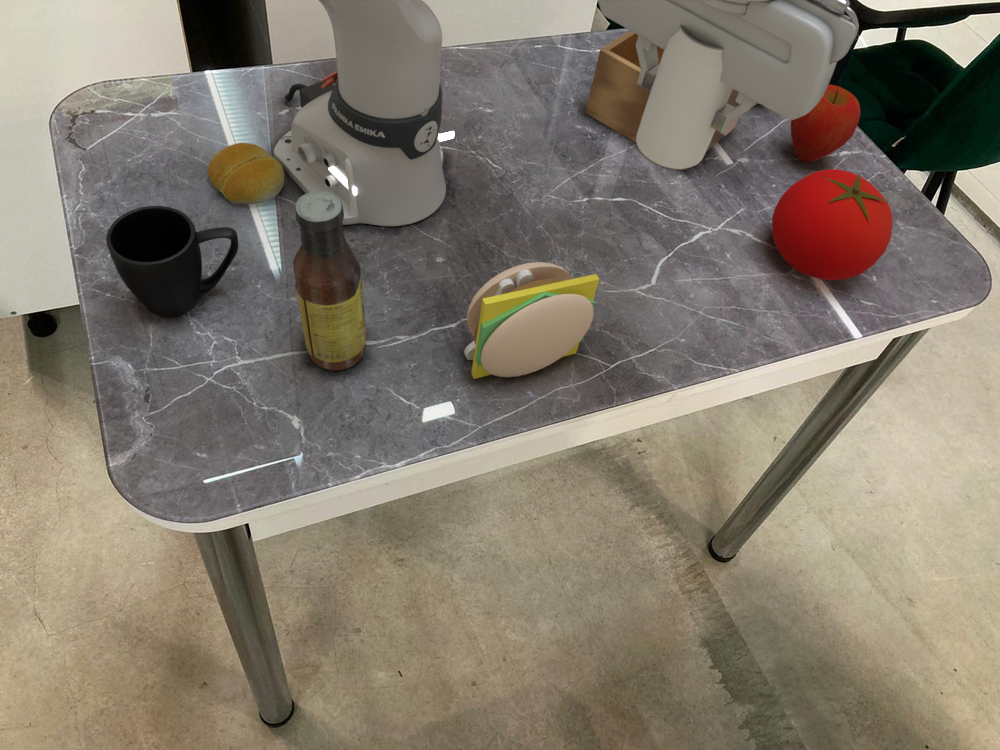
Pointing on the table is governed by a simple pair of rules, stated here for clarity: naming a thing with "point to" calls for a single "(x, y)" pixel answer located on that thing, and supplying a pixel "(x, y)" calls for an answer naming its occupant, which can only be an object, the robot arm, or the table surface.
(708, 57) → the can
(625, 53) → the box
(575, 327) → the hamburger
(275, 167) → the bread roll
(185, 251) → the mug
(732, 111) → the robot arm
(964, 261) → the table surface
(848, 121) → the apple
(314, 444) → the table surface
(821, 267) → the tomato
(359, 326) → the sauce bottle
